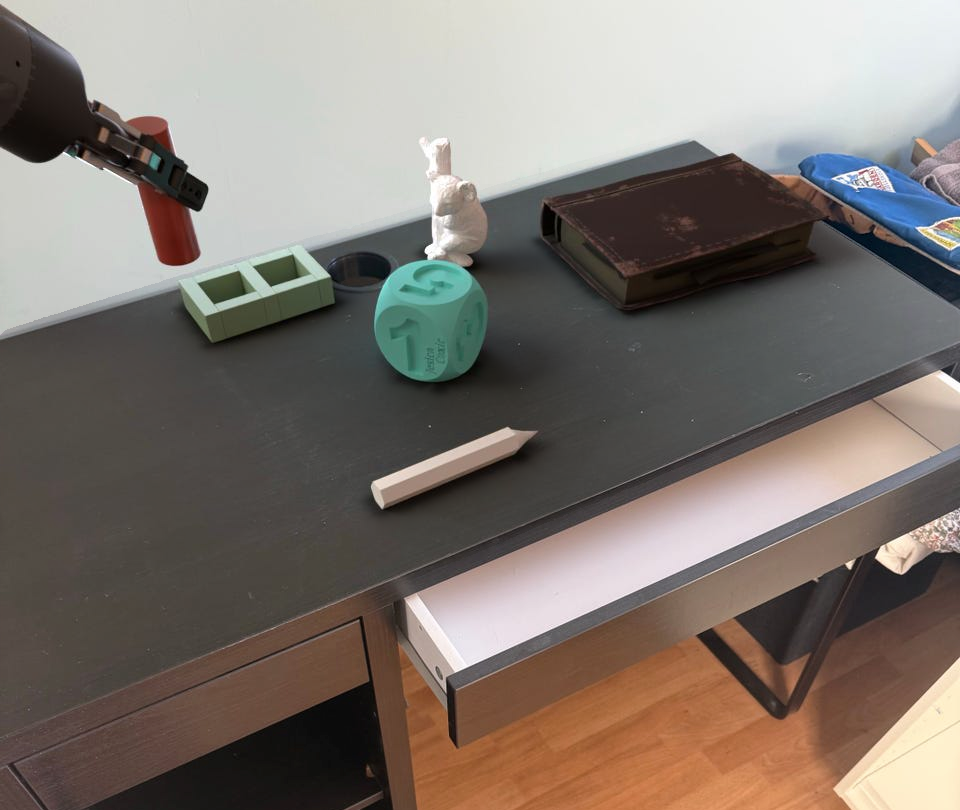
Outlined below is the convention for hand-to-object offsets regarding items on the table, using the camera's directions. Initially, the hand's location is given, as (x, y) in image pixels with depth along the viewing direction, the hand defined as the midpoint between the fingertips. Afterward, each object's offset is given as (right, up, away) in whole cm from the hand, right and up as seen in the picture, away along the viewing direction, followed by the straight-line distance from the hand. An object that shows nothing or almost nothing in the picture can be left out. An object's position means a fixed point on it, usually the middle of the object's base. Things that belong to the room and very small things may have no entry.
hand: (183, 190), depth 72 cm
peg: (-1, -4, +3) cm, 5 cm away
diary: (+46, +7, +28) cm, 54 cm away
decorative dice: (+19, -9, +16) cm, 26 cm away
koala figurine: (+21, +6, +27) cm, 34 cm away
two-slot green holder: (+1, -1, +22) cm, 22 cm away
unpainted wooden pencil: (+22, -21, +6) cm, 31 cm away
